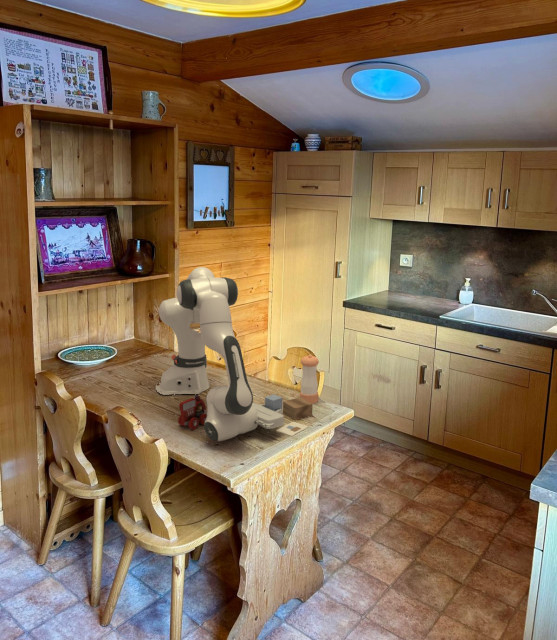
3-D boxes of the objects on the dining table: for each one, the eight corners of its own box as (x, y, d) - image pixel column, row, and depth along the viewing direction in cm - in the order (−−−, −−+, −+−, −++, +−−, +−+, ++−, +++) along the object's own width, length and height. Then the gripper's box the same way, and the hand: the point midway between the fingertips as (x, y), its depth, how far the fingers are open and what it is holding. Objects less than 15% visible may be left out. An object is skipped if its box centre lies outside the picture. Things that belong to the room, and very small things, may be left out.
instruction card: (291, 436, 212) (291, 435, 211) (276, 431, 216) (276, 430, 216) (308, 427, 219) (308, 426, 219) (293, 422, 223) (293, 421, 223)
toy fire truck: (212, 421, 224) (212, 395, 221) (188, 433, 214) (187, 405, 211) (199, 416, 228) (198, 390, 225) (174, 427, 218) (173, 400, 215)
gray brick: (273, 426, 219) (273, 400, 217) (264, 422, 223) (264, 397, 220) (282, 423, 222) (282, 397, 220) (273, 419, 226) (273, 394, 223)
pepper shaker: (320, 398, 246) (321, 353, 241) (314, 405, 239) (315, 358, 235) (303, 396, 249) (304, 351, 244) (297, 402, 242) (297, 356, 237)
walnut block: (294, 421, 225) (294, 408, 224) (282, 413, 232) (282, 401, 230) (312, 416, 229) (312, 404, 228) (300, 409, 236) (300, 397, 234)
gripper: (266, 419, 204) (295, 408, 214) (228, 402, 219) (257, 392, 228) (266, 436, 206) (295, 425, 215) (228, 418, 220) (257, 408, 230)
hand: (275, 408), depth 222 cm, fingers closed on gray brick, 4 cm apart
